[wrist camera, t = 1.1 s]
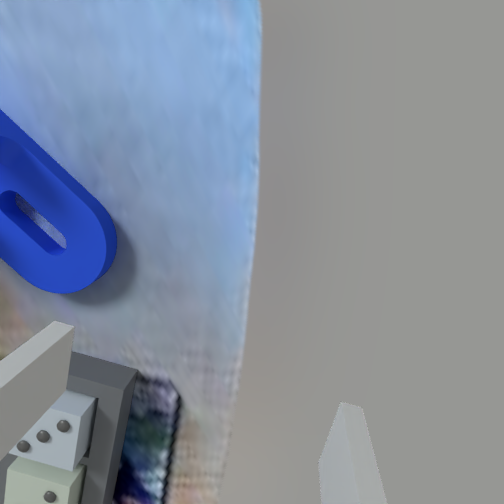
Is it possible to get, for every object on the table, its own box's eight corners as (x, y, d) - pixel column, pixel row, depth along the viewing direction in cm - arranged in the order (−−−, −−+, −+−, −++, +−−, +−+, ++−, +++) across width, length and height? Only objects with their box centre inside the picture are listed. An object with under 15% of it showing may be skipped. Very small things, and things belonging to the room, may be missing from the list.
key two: (27, 485, 38) (1, 519, 34) (33, 439, 36) (5, 470, 33) (82, 501, 37) (61, 537, 34) (90, 455, 36) (68, 488, 32)
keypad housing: (9, 531, 42) (-13, 560, 39) (29, 339, 35) (5, 356, 32) (101, 559, 41) (86, 590, 38) (137, 369, 35) (123, 390, 32)
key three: (35, 424, 36) (7, 455, 32) (40, 373, 34) (12, 399, 31) (92, 441, 35) (71, 473, 32) (101, 390, 34) (79, 418, 31)
